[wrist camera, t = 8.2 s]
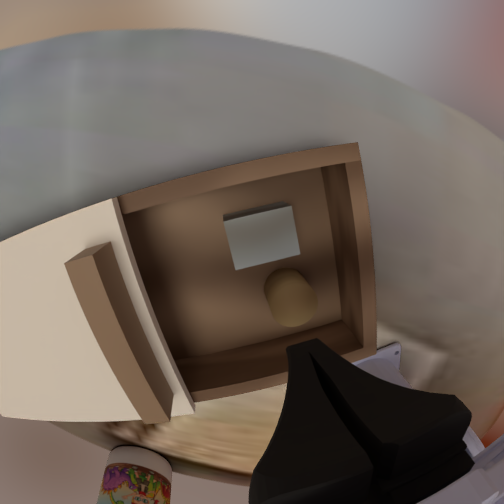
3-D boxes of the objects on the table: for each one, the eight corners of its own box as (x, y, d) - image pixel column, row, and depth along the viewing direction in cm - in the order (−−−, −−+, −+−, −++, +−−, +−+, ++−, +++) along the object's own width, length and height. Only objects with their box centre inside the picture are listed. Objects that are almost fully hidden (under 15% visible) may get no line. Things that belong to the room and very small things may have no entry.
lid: (195, 405, 18) (193, 440, 15) (5, 411, 17) (-8, 432, 14) (116, 196, 14) (92, 204, 11) (-65, 275, 13) (-88, 289, 10)
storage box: (350, 321, 23) (376, 354, 19) (122, 372, 23) (107, 411, 18) (326, 147, 19) (357, 142, 15) (59, 217, 18) (22, 232, 14)
